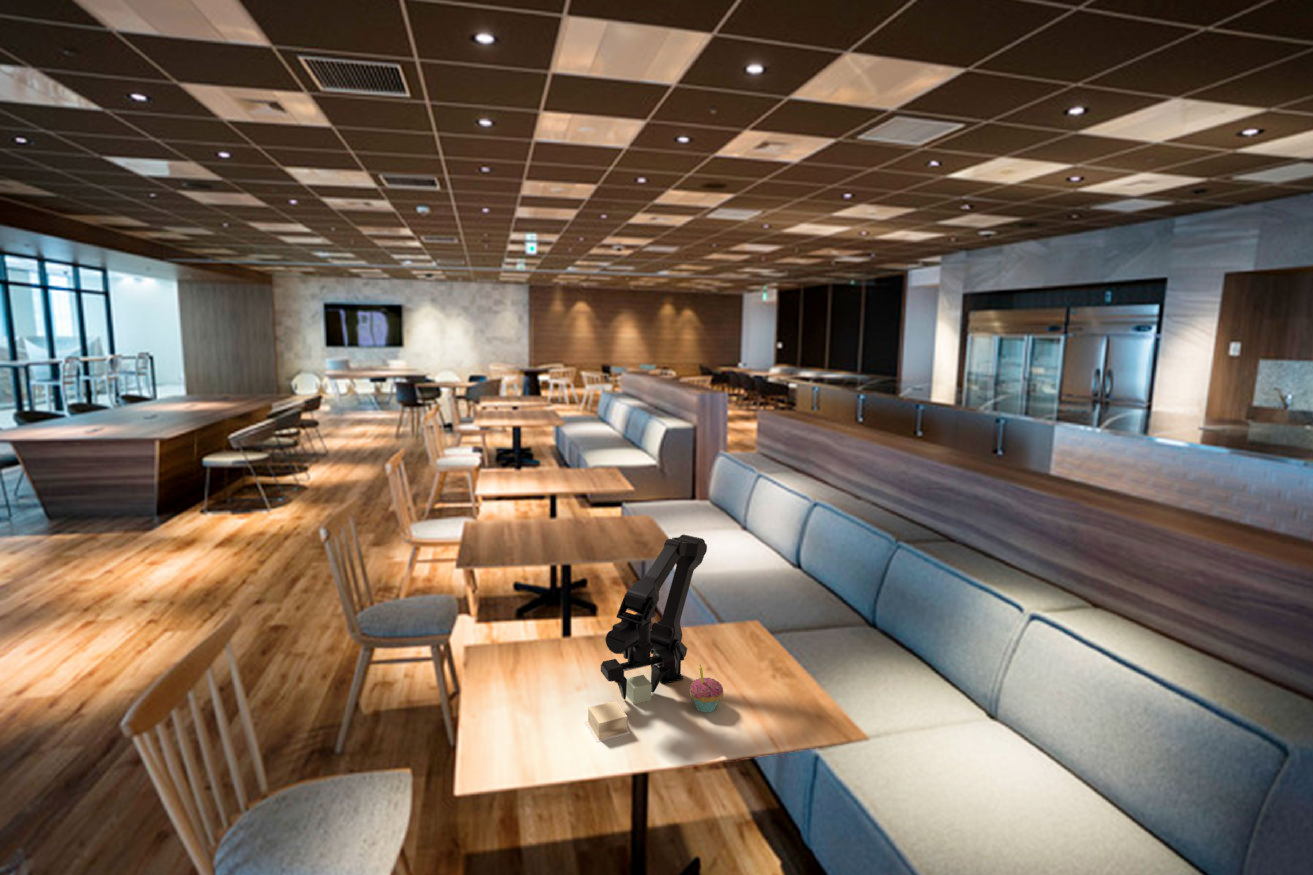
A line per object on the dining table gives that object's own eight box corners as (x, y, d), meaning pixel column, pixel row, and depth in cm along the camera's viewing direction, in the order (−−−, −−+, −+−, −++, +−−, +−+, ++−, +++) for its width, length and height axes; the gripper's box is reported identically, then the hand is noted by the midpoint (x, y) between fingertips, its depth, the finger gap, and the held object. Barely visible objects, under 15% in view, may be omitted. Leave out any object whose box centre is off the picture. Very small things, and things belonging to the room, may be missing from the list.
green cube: (642, 692, 172) (643, 674, 171) (651, 702, 168) (651, 683, 167) (625, 696, 170) (625, 678, 169) (633, 706, 166) (633, 688, 165)
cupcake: (699, 720, 160) (701, 673, 159) (682, 702, 168) (683, 658, 166) (729, 711, 164) (731, 666, 162) (711, 694, 172) (712, 651, 170)
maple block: (615, 716, 160) (615, 700, 160) (627, 731, 154) (627, 716, 153) (588, 722, 157) (588, 707, 157) (598, 739, 151) (598, 723, 150)
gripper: (658, 618, 177) (657, 672, 180) (593, 631, 169) (592, 687, 172) (678, 636, 168) (676, 693, 170) (609, 650, 159) (608, 709, 162)
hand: (638, 695), depth 169 cm, fingers open, 8 cm apart
